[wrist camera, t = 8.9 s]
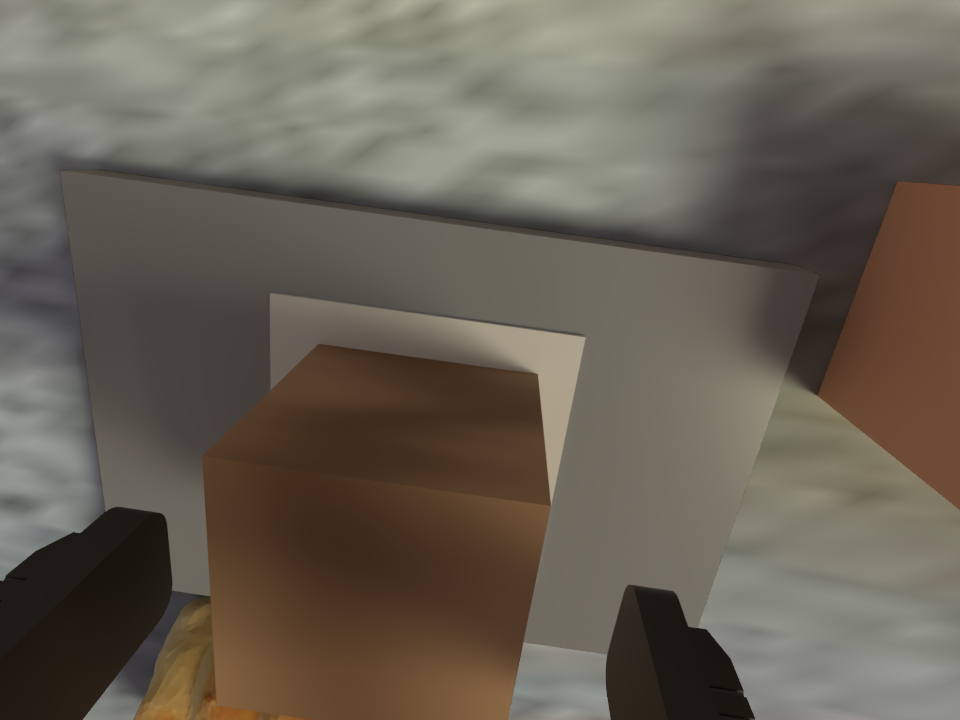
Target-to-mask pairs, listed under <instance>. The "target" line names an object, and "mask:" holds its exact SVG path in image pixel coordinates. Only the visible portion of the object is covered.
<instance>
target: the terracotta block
mask: <svg viewBox="0 0 960 720" xmlns="http://www.w3.org/2000/svg"><path fill="white" fill-rule="evenodd" d="M818 396H819V397H820V398H821V399H822V400H824V401H825V402H826V403H827V404H829V405H830V406H831V407H832V408H834V409H835V410H836V411H837V412H838V413H840V414H841V415H842V416H843V417H845V418H846V419H847V420H848V421H850V422H851V423H852V424H853V425H855V426H856V427H857V428H858V429H860V430H861V431H862V432H863V433H865V434H866V435H867V436H868V437H870V438H871V439H872V440H873V441H875V442H876V443H877V444H878V445H880V446H881V447H882V448H883V449H885V450H886V451H887V452H888V453H890V454H891V455H892V456H893V457H895V458H896V459H897V460H898V461H900V462H901V463H902V464H903V465H905V466H906V467H907V468H908V469H910V470H911V471H912V472H913V473H914V474H916V475H917V476H918V477H919V478H921V479H922V480H923V481H924V482H926V483H927V484H928V485H929V486H931V487H932V488H933V489H934V490H936V491H937V492H938V493H939V494H941V495H942V496H943V497H944V498H946V499H947V500H948V501H949V502H951V503H952V504H953V505H954V506H956V507H957V508H958V509H959V510H960V186H955V185H941V184H927V183H914V182H900V181H898V182H897V185H896V187H895V190H894V193H893V195H892V198H891V201H890V203H889V206H888V209H887V211H886V214H885V217H884V219H883V222H882V225H881V227H880V230H879V233H878V235H877V238H876V241H875V243H874V246H873V249H872V251H871V254H870V257H869V259H868V262H867V265H866V267H865V270H864V273H863V275H862V278H861V281H860V283H859V286H858V289H857V291H856V294H855V297H854V299H853V302H852V305H851V307H850V310H849V313H848V315H847V318H846V321H845V324H844V326H843V329H842V332H841V334H840V337H839V340H838V342H837V345H836V348H835V350H834V353H833V356H832V358H831V361H830V364H829V366H828V369H827V372H826V374H825V377H824V380H823V382H822V385H821V388H820V390H819V393H818Z"/></svg>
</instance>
